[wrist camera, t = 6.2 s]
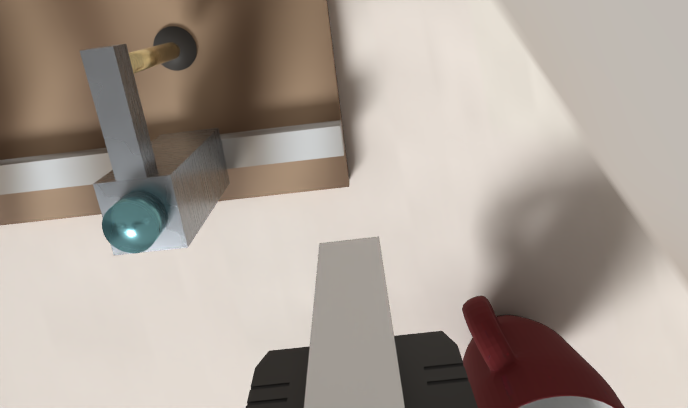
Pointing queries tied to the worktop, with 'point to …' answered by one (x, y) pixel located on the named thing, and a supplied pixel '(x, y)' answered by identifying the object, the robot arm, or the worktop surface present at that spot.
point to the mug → (527, 365)
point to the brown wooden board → (168, 95)
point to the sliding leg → (149, 159)
